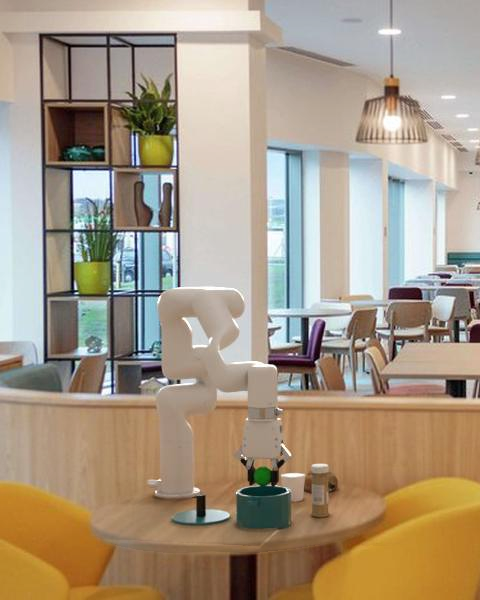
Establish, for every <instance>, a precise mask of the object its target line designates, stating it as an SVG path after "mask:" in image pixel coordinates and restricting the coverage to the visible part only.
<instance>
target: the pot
mask: <svg viewBox="0 0 480 600" xmlns="http://www.w3.org/2000/svg"><path fill="white" fill-rule="evenodd" d="M235 523H236V526H238V527H241V528H244V529H245V528H246V529H253V530H266V529H268V530H269V529H276V530H282V529H285V528H287V527H289V526H291V523H292V501H291V490H290V489H289V488H286V487H283V486H282V485H275V486H271V484H268V485H266V486H260V485H252V486H250V485H249V486H245V487H241V488H238V489H237V490H236V491H235Z"/></svg>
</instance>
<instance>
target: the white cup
mask: <svg viewBox="0 0 480 600" xmlns="http://www.w3.org/2000/svg"><path fill="white" fill-rule="evenodd" d="M305 475H306V473H302V472H286V473H281V474H280V483H281V486H283V487H286V488H289V489H290V490H291V503H292V502H296V503H297V502H301V501H304V493H305V491H304V490H305V489H304V481H305Z"/></svg>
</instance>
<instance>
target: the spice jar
mask: <svg viewBox="0 0 480 600" xmlns="http://www.w3.org/2000/svg"><path fill="white" fill-rule="evenodd" d="M329 470H330V468H329V464H327V463H313V464H312V465H311V466H310V471H311V472H312V492H311V516H312V517H313V518H326V517H328V516H329V514H330V513H329V492H328V472H329Z"/></svg>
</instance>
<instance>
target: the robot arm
mask: <svg viewBox="0 0 480 600" xmlns="http://www.w3.org/2000/svg"><path fill="white" fill-rule="evenodd" d="M245 309H246V303H245V298H244V296H243V295H242V293H241V292H240V291H239V290H238V289H236V288H231V287H217V286H183V287H182V286H180V287H173V288H168V289H166V290H164V291H162V293H161V294H160V296H159V297H158V301H157V315H158V320H159V323H160V330H161V371H162V374H163V376H164V377H165V378H166V379H168V380H171V381H172V380H173V381H178V380H179V381H180V380H193V379H194V380H195V382H189V383H175V384H170V385H165V386H163V387H161V388H160V389H159V390H158V391H157V393H156V396H155V407H156V411H157V417H158V426H159V478H158V479H148V480H147V481H146V486H147V488H149V489H150V488H152V489H153V488H155V489H156V490H155V491H154V497H158V498H163V499H185V498H188V499H189V498H190V499H191V498H196V495H197V494H201V490H200V488H198V487H195V435H194V434H195V433H194V430H193V428H192V426H191V425H190V423H189V422H188V421H187V418H192V417H197V416H199V417H200V416H207V415H210V414H212V413H213V412H214V411H215V409H216V407H217V402H218V390H219V391H220V392H222V393H227V394H229V393H239V392H247V417H246V418H245V420H244V425H243V430H242V431H243V432H242V441H241V442H242V443H241V446H240V447H239V448H238V450H236V452H235V453H234V458H236V459H237V460H238V461H239V462H240V463H241V464H242V465H243V466H244V467H245V469H246V470H247V482H248V485H249V487H250V486H254V485H255V484H256V483H255V481H254V478H253V474H254V471H255V470H256V469H257V468H256V467H255V462H256V460H257V459H259V460H270V463H271V467H272V470H271V483H270V485H271V486H277V485H278V483H279V482H280V481H279V480H280V469H281V467H282V466H283V465H285V463H286V462H288V461H289V460H290V459H291V458H292V457H293V455H292V454H291V452H290V451H289V450H288V449H287V448H286V446H285V435H284V427H283V421H282V418H281V417H279V416H281V415H284V409H281V408H280V407H279V404H278V403H279V401H278V399H279V398H278V396H279V395H278V394H279V393H278V391H279V389H278V387H279V385H278V383H279V380H278V368H277V366H275V365H274V364H269V363H268V364H265V363H263V362H261V361H257V360H254V361H253V360H251V361H236V362H226V361H225V359H224V358H223V356H222V354H221V352H222V350H224V349H226V348H228V347H229V346H231V345H232V344H234V342H236V341H237V340H238V338H239V336H240V328H239V325H238V324H237V322H236V321H235V319H238V318H241V316H243V314H244V312H245ZM186 318H197V319H196V320H197V321H198V322H199V324H200V326H201V328H202V330H203V332H204V334H205V336H206V337H207V340H208V343H207V345H206V344H194V345H193V330H192V326H191V324H190V323H189V321H188V320H187V319H186ZM282 456H283V457H282ZM280 457H282V458H281V459H279V458H280Z"/></svg>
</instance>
